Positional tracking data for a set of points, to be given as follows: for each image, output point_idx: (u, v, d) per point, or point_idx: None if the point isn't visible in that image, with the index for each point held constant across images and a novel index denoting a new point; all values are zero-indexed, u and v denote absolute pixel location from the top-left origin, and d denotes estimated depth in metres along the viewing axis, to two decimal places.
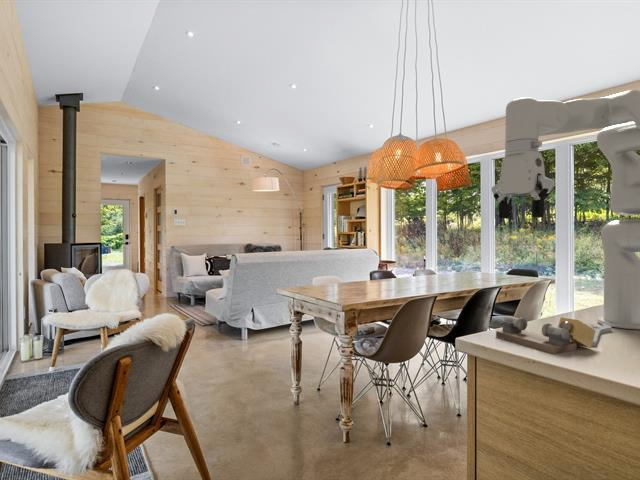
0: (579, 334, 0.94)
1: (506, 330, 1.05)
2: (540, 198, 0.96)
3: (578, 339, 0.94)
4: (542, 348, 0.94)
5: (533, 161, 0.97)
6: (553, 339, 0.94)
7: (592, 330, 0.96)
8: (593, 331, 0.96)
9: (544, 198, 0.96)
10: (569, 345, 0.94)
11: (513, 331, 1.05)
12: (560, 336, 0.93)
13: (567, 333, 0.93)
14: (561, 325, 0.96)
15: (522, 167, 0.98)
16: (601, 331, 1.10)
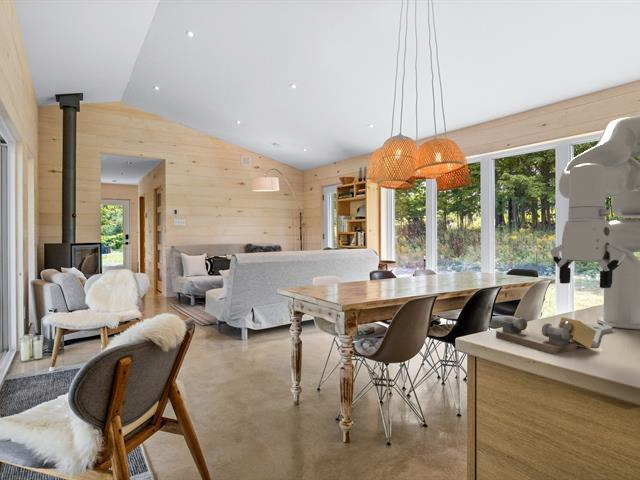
0: (579, 335, 0.94)
1: (506, 330, 1.05)
2: (609, 269, 0.92)
3: (578, 340, 0.94)
4: (542, 348, 0.94)
5: (601, 230, 0.94)
6: (553, 339, 0.94)
7: (593, 331, 0.96)
8: (593, 331, 0.96)
9: (613, 269, 0.93)
10: (569, 345, 0.94)
11: (513, 331, 1.05)
12: (560, 336, 0.93)
13: (567, 333, 0.93)
14: (561, 325, 0.96)
15: (589, 235, 0.95)
16: (602, 331, 1.10)
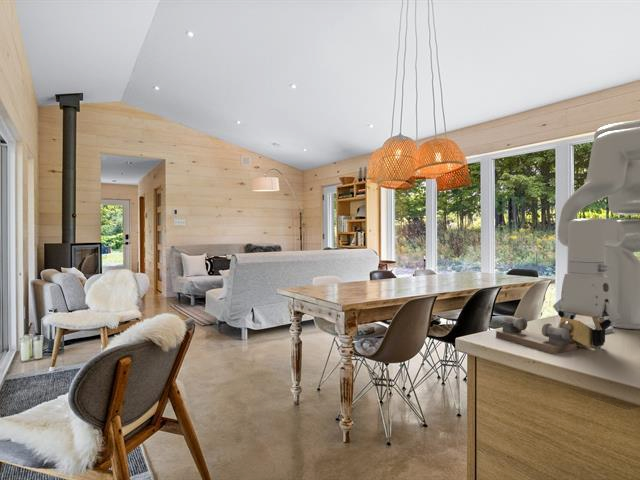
0: (579, 335, 0.94)
1: (506, 330, 1.05)
2: (602, 328, 0.94)
3: (578, 340, 0.94)
4: (542, 348, 0.94)
5: (600, 287, 0.94)
6: (553, 339, 0.94)
7: (592, 331, 0.96)
8: None
9: None
10: (569, 345, 0.94)
11: (513, 331, 1.05)
12: (560, 336, 0.93)
13: (567, 333, 0.93)
14: (561, 325, 0.96)
15: (588, 291, 0.96)
16: None
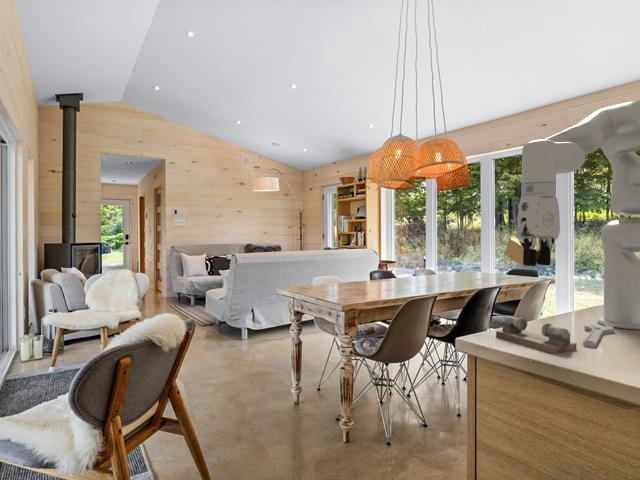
0: (510, 251, 1.04)
1: (506, 330, 1.05)
2: (523, 247, 0.99)
3: (509, 256, 1.04)
4: (542, 348, 0.94)
5: (520, 206, 0.99)
6: (553, 339, 0.94)
7: None
8: None
9: (527, 248, 0.98)
10: (569, 345, 0.94)
11: (513, 331, 1.05)
12: (560, 336, 0.93)
13: (567, 333, 0.93)
14: None
15: None
16: (603, 332, 1.09)
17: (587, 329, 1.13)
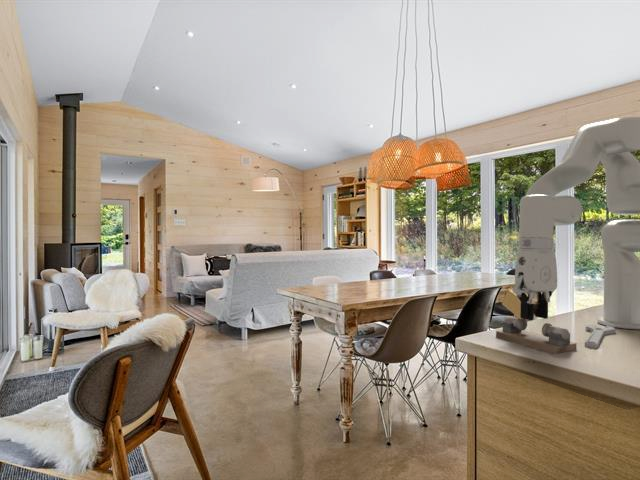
0: (508, 302, 1.04)
1: (506, 330, 1.05)
2: (520, 301, 0.99)
3: (507, 306, 1.05)
4: (542, 348, 0.94)
5: (517, 260, 0.99)
6: (553, 339, 0.94)
7: None
8: None
9: (525, 302, 0.98)
10: (569, 345, 0.94)
11: (513, 331, 1.05)
12: (560, 336, 0.93)
13: (567, 333, 0.93)
14: None
15: None
16: (604, 333, 1.09)
17: (588, 329, 1.13)
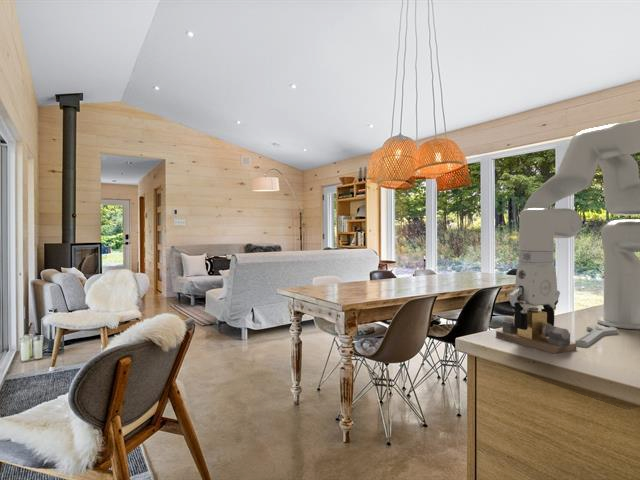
0: None
1: (506, 330, 1.05)
2: (514, 310, 0.98)
3: None
4: (542, 348, 0.94)
5: (517, 273, 0.99)
6: (553, 339, 0.94)
7: (530, 335, 0.97)
8: (530, 336, 0.97)
9: (518, 311, 0.97)
10: (569, 345, 0.94)
11: (513, 331, 1.05)
12: (560, 336, 0.93)
13: (567, 333, 0.93)
14: None
15: None
16: (604, 333, 1.08)
17: (589, 330, 1.12)
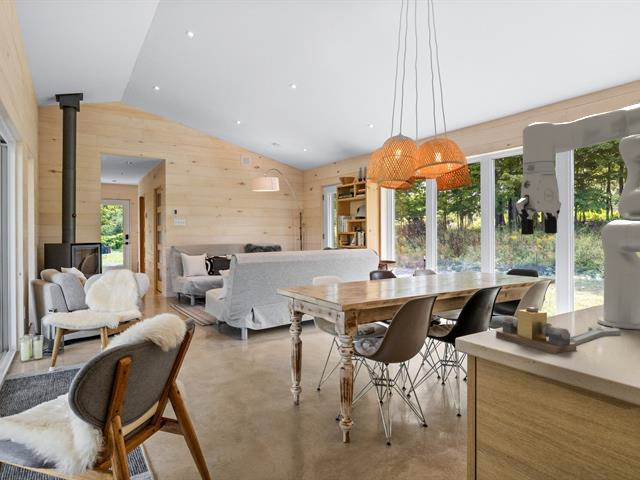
0: (522, 317, 1.00)
1: (506, 330, 1.05)
2: (521, 217, 1.07)
3: (519, 317, 1.01)
4: (542, 348, 0.94)
5: (522, 184, 1.08)
6: (553, 339, 0.94)
7: (530, 335, 0.97)
8: (530, 336, 0.97)
9: (525, 217, 1.06)
10: (569, 345, 0.94)
11: (513, 331, 1.05)
12: (560, 336, 0.93)
13: (567, 333, 0.93)
14: None
15: None
16: (603, 333, 1.08)
17: (590, 330, 1.12)
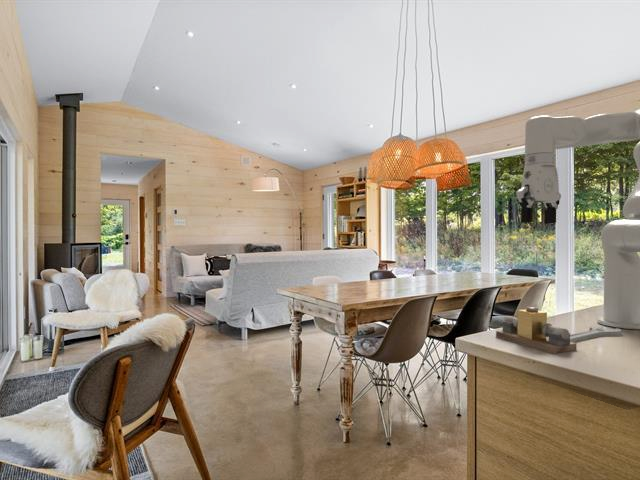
0: (522, 317, 1.00)
1: (506, 330, 1.05)
2: (521, 206, 1.11)
3: (519, 317, 1.01)
4: (542, 348, 0.94)
5: (523, 175, 1.13)
6: (553, 339, 0.94)
7: (530, 335, 0.97)
8: (530, 336, 0.97)
9: (524, 206, 1.10)
10: (569, 345, 0.94)
11: (513, 331, 1.05)
12: (560, 336, 0.93)
13: (567, 333, 0.93)
14: None
15: None
16: (602, 333, 1.08)
17: (590, 330, 1.12)
